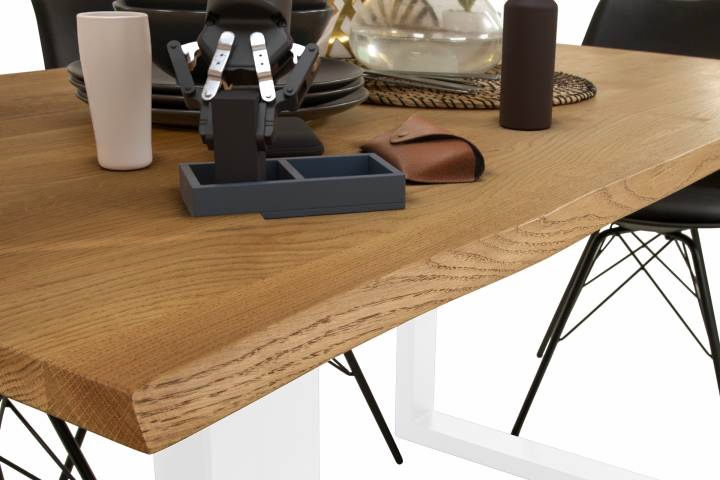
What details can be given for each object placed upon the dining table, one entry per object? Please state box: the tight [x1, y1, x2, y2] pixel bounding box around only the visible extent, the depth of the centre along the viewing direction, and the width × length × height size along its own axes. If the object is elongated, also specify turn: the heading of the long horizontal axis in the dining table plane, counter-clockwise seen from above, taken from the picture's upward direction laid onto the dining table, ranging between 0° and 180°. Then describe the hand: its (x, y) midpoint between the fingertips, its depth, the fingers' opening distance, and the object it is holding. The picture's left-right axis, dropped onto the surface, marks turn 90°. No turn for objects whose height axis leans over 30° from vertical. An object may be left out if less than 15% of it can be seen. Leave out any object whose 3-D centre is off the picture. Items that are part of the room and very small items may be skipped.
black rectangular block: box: [211, 89, 267, 184], centre depth 87 cm, size 4×5×9 cm
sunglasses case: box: [358, 112, 486, 185], centre depth 106 cm, size 18×7×7 cm, turn 22°
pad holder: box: [178, 152, 406, 220], centre depth 90 cm, size 10×18×3 cm, turn 111°
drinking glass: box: [76, 11, 154, 171], centre depth 100 cm, size 7×7×15 cm
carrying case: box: [266, 116, 325, 159], centre depth 109 cm, size 11×3×15 cm
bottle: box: [498, 0, 559, 131], centre depth 126 cm, size 7×7×20 cm
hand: (236, 145), depth 85 cm, fingers closed on black rectangular block, 3 cm apart
